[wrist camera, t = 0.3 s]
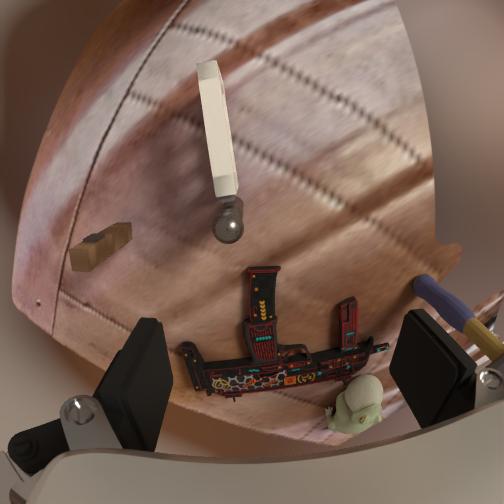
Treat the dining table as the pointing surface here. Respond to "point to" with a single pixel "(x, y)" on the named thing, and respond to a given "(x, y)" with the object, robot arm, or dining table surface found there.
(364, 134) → the dining table surface
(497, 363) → the rubber mallet
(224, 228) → the hinge post
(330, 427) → the figurine
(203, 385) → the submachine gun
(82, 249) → the post
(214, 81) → the gate
